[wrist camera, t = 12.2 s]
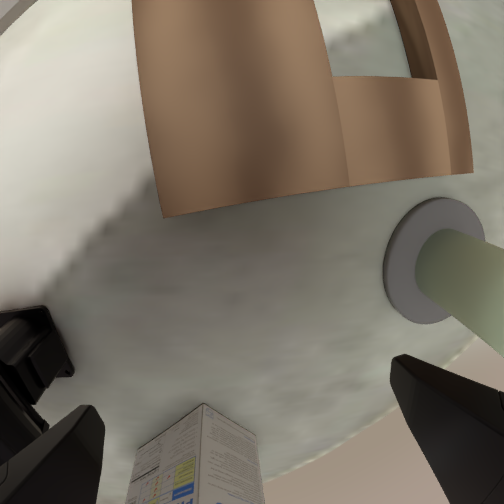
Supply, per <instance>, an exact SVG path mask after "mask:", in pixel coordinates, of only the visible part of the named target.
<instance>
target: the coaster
mask: <svg viewBox="0 0 504 504" xmlns="http://www.w3.org/2000/svg"><path fill="white" fill-rule="evenodd" d="M446 228H449V229H454V230H457V231H459V232H462V233H465V234H467V235H470V236H472V237H475V238H478V239H480V240H483V241H485V235H484V231H483V227H482V224H481V222H480V220H479V218H478V217H477V215H476V213H475V212H474V211H473V210H472V209H471V208H470V207H469V206H467V205H466V204H464V203H462V202H460V201H457V200H453V199H449V198H442V197H441V198H433V199H429V200H426V201H424V202H422V203H420V204H418V205H417V206H415V207H414V208H413V209H412V210H410V211H409V212H408V213H407V214H406V215H405V216H404V218H403V219H402V220H401V222H400V223H399V224H398V226H397V227H396V229H395V231H394V233H393V235H392V237H391V239H390V241H389V244H388V247H387V250H386V254H385V259H384V265H383V279H384V286H385V291H386V293H387V296H388V298H389V300H390V302H391V304H392V305H393V306H394V308H395V309H396V310H398V311H399V312H400V313H401V314H402V315H403V316H404V317H405V318H406V319H408V320H410V321H412V322H414V323H418V324H432V323H436V322H439V321H442V320H444V319H446V318H448V317H449V316H451V314H449V313H448V312H447V311H446V310H444V309H443V308H442V307H440V306H439V305H438V304H436V303H435V302H434V301H432V300H431V299H430V298H429V297H427V296H426V295H425V294H423V293H422V292H421V291H420V289H419V288H418V285H417V283H416V278H415V265H416V261H417V257H418V254H419V252H420V250H421V248H422V246H423V244H424V243H425V242H426V240H427V239H428V238H429V237H430V236H431V235H432V234H434V233H435V232H437V231H439V230H441V229H446Z"/></svg>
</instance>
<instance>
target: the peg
mask: <svg viewBox="0 0 504 504" xmlns="http://www.w3.org/2000/svg"><path fill="white" fill-rule="evenodd" d="M415 278H416V283H417V285H418V288H419V289H420V291H421V292H422V293H423V294H425V295H426V296H427V297H429V298H430V299H431V300H432V301H434V302H435V303H436V304H438V305H439V306H440V307H442V308H443V309H444V310H446V311H447V312H448V313H449V314H451V315H452V316H453V317H455V318H456V319H457V320H458V321H460V322H461V323H462V324H463V325H465V326H466V327H467V328H468V329H470V330H471V331H472V332H473V333H475V334H476V335H477V336H478V337H480V338H481V339H482V340H483V341H485V342H486V343H487V344H488V345H489V346H491V347H492V348H493V349H494V350H495V351H497V352H498V353H499V354H500V355H501V356H503V357H504V249H502V248H500V247H497V246H495V245H492V244H490V243H488V242H485V241H483V240H480V239H478V238H475V237H472V236H470V235H467V234H465V233H462V232H459V231H457V230H454V229H449V228H446V229H441V230H439V231H437V232H435V233H434V234H432V235H431V236H430V237H429V238H428V239H427V240H426V242H425V243H424V244H423V246H422V248H421V250H420V252H419V254H418V257H417V261H416V265H415Z"/></svg>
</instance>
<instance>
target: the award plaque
mask: <svg viewBox="0 0 504 504" xmlns="http://www.w3.org/2000/svg"><path fill="white" fill-rule="evenodd" d="M36 1H37V0H0V36H1V35H2V34H3V33H4V31H5V30H6V29H7V28H8V27H9V26H10V25H11V24H12V23H13V22H14V21H15V20H16V19H18V18H19V17H20V16H21V15H22V14H23V13H24V12H25V11H26V10H27V9H28V8H29V7H30V6H32V5H33V4H34V3H35V2H36Z"/></svg>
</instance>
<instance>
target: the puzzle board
mask: <svg viewBox="0 0 504 504" xmlns="http://www.w3.org/2000/svg"><path fill="white" fill-rule="evenodd" d="M390 1H391V4H392V7H393V10H394V13H395V16H396V19H397V22H398V25H399V29H400V32H401V36H402V39H403V43H404V46H405V50H406V54H407V58H408V62H409V66H410V71H411V75H412V78H404V77H378V76H343V77H332V73H331V69H330V64H329V60H328V55H327V51H326V47H325V42H324V38H323V34H322V30H321V26H320V23H319V19H318V15H317V11H316V8H315V4H314V1H313V0H132V12H133V25H134V37H135V47H136V56H137V65H138V74H139V82H140V89H141V97H142V104H143V111H144V117H145V124H146V130H147V136H148V142H149V148H150V154H151V159H152V165H153V170H154V175H155V181H156V186H157V191H158V196H159V201H160V205H161V210H162V215H163V218H168V217H173V216H178V215H183V214H188V213H193V212H198V211H203V210H208V209H214V208H219V207H224V206H230V205H235V204H241V203H247V202H252V201H258V200H264V199H270V198H276V197H282V196H288V195H295V194H301V193H308V192H314V191H321V190H328V189H335V188H342V187H349V186H357V185H364V184H372V183H380V182H388V181H397V180H405V179H414V178H424V177H433V176H444V175H454V174H466V173H474V171H473V158H472V148H471V139H470V131H469V123H468V117H467V110H466V104H465V99H464V94H463V88H462V84H461V79H460V75H459V70H458V66H457V62H456V58H455V54H454V50H453V47H452V43H451V40H450V37H449V33H448V30H447V27H446V24H445V21H444V18H443V15H442V12H441V9H440V6H439V4H438V1H437V0H390Z"/></svg>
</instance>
